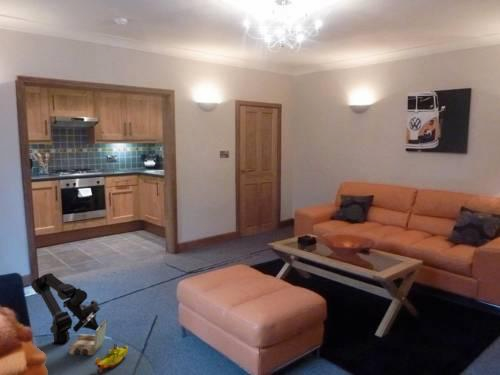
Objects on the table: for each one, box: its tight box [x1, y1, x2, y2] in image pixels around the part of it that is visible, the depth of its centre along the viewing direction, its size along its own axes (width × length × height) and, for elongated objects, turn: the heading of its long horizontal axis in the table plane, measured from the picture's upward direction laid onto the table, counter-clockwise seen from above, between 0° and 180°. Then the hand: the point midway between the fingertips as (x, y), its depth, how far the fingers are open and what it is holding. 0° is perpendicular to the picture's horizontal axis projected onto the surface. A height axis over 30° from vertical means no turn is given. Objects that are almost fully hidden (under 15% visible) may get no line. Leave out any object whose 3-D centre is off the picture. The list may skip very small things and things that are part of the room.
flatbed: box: [68, 333, 103, 356], centre depth 199 cm, size 12×11×5 cm
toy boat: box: [94, 343, 129, 374], centre depth 186 cm, size 6×18×10 cm, turn 152°
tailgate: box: [94, 319, 108, 349], centre depth 198 cm, size 2×10×12 cm, turn 177°
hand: (99, 330), depth 198 cm, fingers closed, pressing on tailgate
